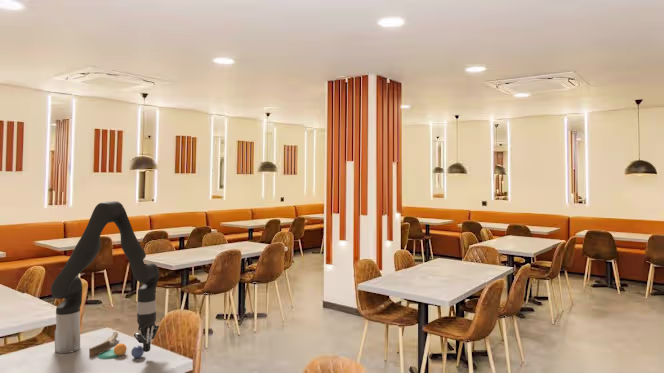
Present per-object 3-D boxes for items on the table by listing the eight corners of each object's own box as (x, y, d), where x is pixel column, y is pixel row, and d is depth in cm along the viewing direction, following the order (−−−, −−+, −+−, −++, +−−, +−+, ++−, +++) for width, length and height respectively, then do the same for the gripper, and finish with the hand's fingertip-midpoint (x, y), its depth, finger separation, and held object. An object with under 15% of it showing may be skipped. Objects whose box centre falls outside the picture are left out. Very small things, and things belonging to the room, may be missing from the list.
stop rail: (89, 356, 186) (89, 348, 186) (107, 348, 196) (107, 340, 196) (91, 356, 186) (91, 348, 186) (109, 348, 195) (109, 340, 195)
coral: (100, 348, 196) (100, 339, 196) (106, 340, 206) (106, 331, 206) (114, 347, 197) (114, 337, 197) (119, 339, 207) (119, 330, 207)
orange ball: (121, 357, 184) (111, 357, 186) (129, 352, 189) (120, 353, 190) (119, 345, 184) (110, 346, 186) (128, 341, 189) (119, 342, 191)
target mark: (91, 357, 185) (91, 357, 185) (111, 348, 196) (111, 347, 196) (111, 360, 182) (111, 359, 182) (131, 350, 192) (131, 350, 192)
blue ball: (140, 353, 181) (134, 362, 182) (148, 348, 186) (143, 357, 187) (131, 345, 183) (126, 354, 183) (140, 341, 187) (135, 350, 188)
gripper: (150, 306, 191) (150, 344, 191) (128, 314, 178) (128, 356, 178) (164, 307, 188) (164, 346, 189) (142, 316, 176) (142, 358, 176)
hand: (146, 351), depth 183 cm, fingers closed
